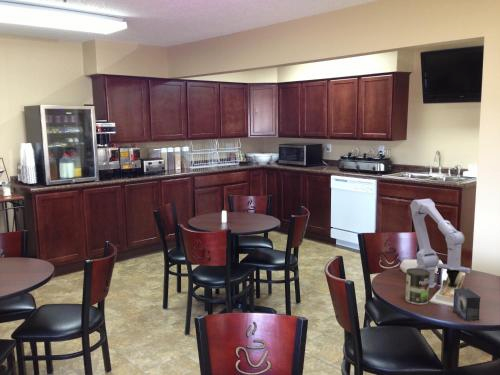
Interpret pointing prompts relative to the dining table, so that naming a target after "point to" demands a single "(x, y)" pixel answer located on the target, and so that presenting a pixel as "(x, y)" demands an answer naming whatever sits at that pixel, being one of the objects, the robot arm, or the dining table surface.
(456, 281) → the lever
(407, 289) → the coffee can
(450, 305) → the lever base
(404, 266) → the crystal
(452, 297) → the beige flat block
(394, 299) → the dining table surface
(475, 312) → the small box
